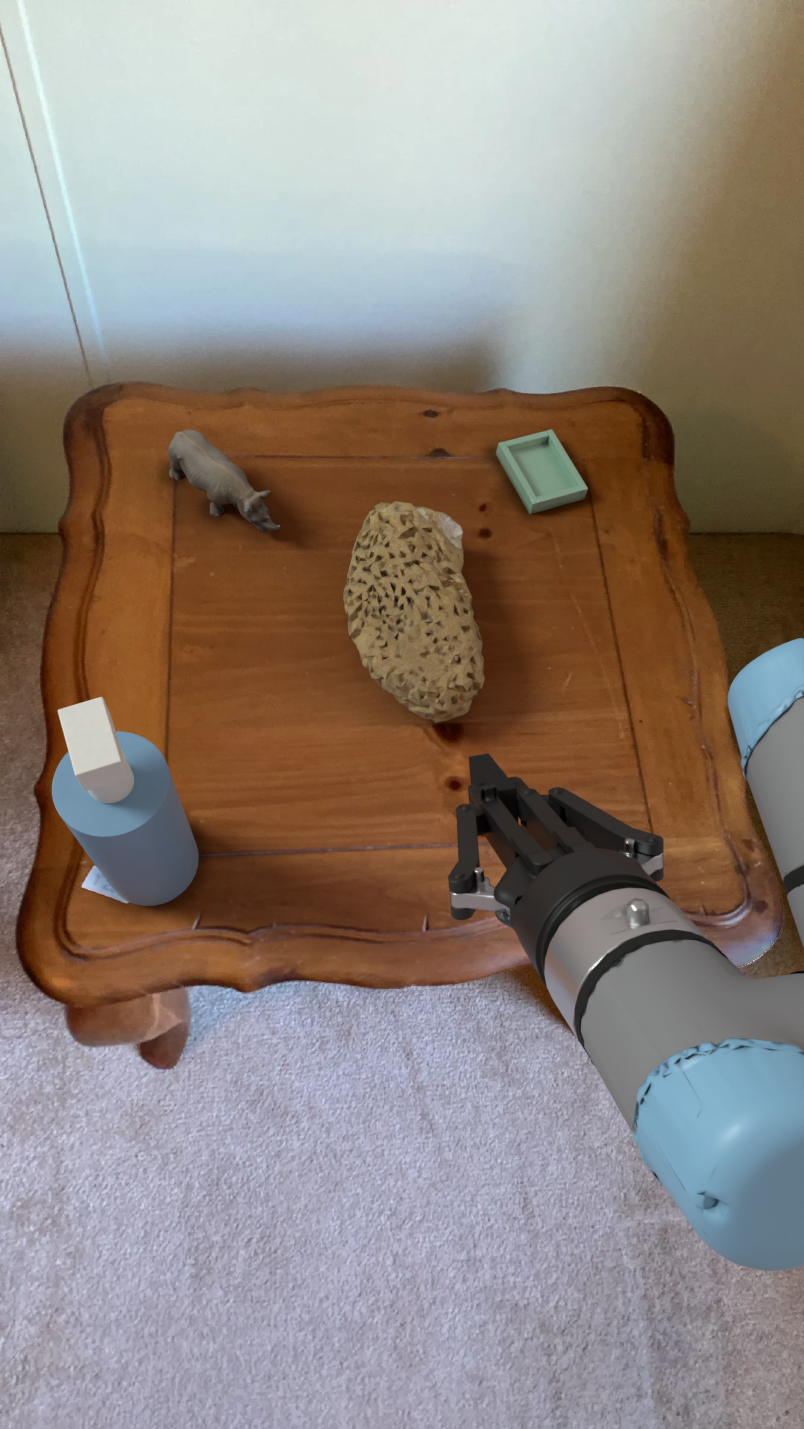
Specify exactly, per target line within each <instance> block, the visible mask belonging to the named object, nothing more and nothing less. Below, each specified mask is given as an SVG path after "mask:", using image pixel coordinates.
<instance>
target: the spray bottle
mask: <svg viewBox="0 0 804 1429" xmlns="http://www.w3.org/2000/svg"><path fill="white" fill-rule="evenodd" d="M57 715H58V718H59V721H60V725H61V729H62V733H63V737H64V740H65V743H66V747H67V752H66V754H64V756H63V757H62V758H61V760H60V762H59V764H58V765H57V766H56V769H55V772H54V774H53V778H52V783H51V797H52V801H53V804H54V807H55V809H56V811H57V813H58V815H59V817H60V818H61V819H62V820H63V822H64V823H65V825H66V826H67V828H68V829H69V831H70V832H71V833H72V835H73V836H74V837H75V839H76V840H77V841H78V843H79V844H80V846H81V848H82V849H83V850H84V851H85V853H86V854H87V856H88V857H89V858H90V860H91V861H92V862H93V864H94V865H95V867H96V868H97V870H98V871H99V872H100V874H101V875H102V877H103V878H104V880H105V881H106V882H107V884H108V885H109V887H110V888H111V889H112V890H113V892H114V893H115V894H116V895H117V896H118V897H120V898H121V899H122V900H124V901H125V902H128V903H129V904H132V905H137V906H141V907H153V906H159V905H163V904H166V903H168V902H171V901H173V900H174V899H175V898H177V897H179V896H181V895H182V894H183V893H184V892H185V891H186V890H187V889H188V888H189V886H190V885H191V883H192V882H193V880H194V878H195V876H196V875H197V874H196V873H197V871H198V867H199V860H200V859H199V858H200V856H199V849H198V845H197V842H196V840H195V836H194V834H193V830H192V828H191V826H190V823H189V820H188V817H187V815H186V812H185V809H184V807H183V804H182V801H181V798H180V796H179V793H178V790H177V787H176V784H175V781H174V779H173V776H172V774H171V771H170V768H169V765H168V763H167V761H166V757H164V755H163V753H162V751H161V750H160V749H159V748H158V747H157V746H156V745H155V744H154V743H153V742H151V741H150V740H149V739H148V738H146V737H143V736H142V735H139V734H136V733H133V732H128V731H120V730H117V731H116V728H115V724H114V721H113V717H112V714H111V712H110V710H109V708H108V705H107V703H106V701H105V699H104V697H103V696H99V697H95V698H93V699H89V700H86V701H83V702H79V703H76V704H73V705H69V706H66V707H61V708H59V709H57Z"/></svg>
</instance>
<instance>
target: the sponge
mask: <svg viewBox="0 0 804 1429" xmlns="http://www.w3.org/2000/svg"><path fill="white" fill-rule="evenodd" d="M374 508H375V509H372V510H370V511H368V514H367V515H366V517H365V519H364V520H363V523H362V526H361V529H360V530H359V532H358V534H357V537H356V539H355V542H354V545H353V548H352V551H351V559H350V564H349V568H348V571H347V575H346V578H345V579H346V584H345V585H344V588H343V596H342V597H343V603H344V606H343V607H344V610H345V615H346V616H347V618H348V620H347V631H348V632H347V633H348V637H350V638H351V640H352V643H353V644H354V646H355V647H356V649H357V650H358V652H359V657H360V660H361V665H362V666H363V667H364V668H365V669H366V670H367V671H368V672H369V674H370V677H371V680H373V681H374V682H375V683H377V685H379V687H381V688H382V690H383V691H384V692H386V693H388V694H390V695H391V696H393V698H395V699H396V701H397V702H398V703H399V704H400V705H403V706H404V707H406V708H407V710H408V711H410V712H411V713H413V714H415V715H416V716H417V717H419V718H421V719H424V720H426V721H427V720H428V721H432V722H433V723H435V724H437V723H441V722H442V723H443V722H446V721H447V722H448V721H450V720H452V719H455V718H458V717H461V716H465V715H466V714H467V713H468V712H469V711H470V710H471V705H472V701H473V698H474V697H475V696H478V692H479V690H482V689H483V686H484V684H485V678H486V677H485V658H484V656H483V655H484V647H483V640H482V636H481V633H480V627H479V625H478V623H477V622H476V621H475V619H474V615H475V612H474V610H473V607H472V602H473V596H472V594H471V591H470V589H469V587H468V584H467V581H466V579H465V578H464V576H463V573H462V571H463V567H464V554H465V550H464V548H463V543H462V539H463V535H464V530H463V528H462V526H461V524H459V523H457V522H456V521H455V520H454V519H453V518H451V516H449V515H448V514H446V513H445V512H443V511H437V510H433V509H431V508H428V507H424V506H415V505H413V504H412V503H410V502H403V501H397V500H395V501H393V502H392V503H388V502H384V501H381V502H379V503H378V504H376V505H374Z"/></svg>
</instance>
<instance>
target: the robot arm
mask: <svg viewBox="0 0 804 1429" xmlns="http://www.w3.org/2000/svg"><path fill="white" fill-rule="evenodd" d="M727 707H728V710H729V715H730V720H731V722H732V727H733V730H734V734H735V738H736V741H737V744H738V748H739V753H740V756H741V759H740V766H741V768H742V775H743V777H744V779H745V781H747V783H748V785H749V786H748V787H749V788H750V791H751V793H752V794H751V795H752V797H753V800H754V803H755V805H756V808H757V811H758V814H759V817H760V820H761V823H762V825H763V829H764V831H765V834H766V836H767V837H766V838H767V840H768V842H769V845H770V849H771V852H772V854H773V857H774V860H775V863H776V865H777V868H778V871H779V874H780V877H781V880H782V884H783V888H784V891H785V894H786V899H787V902H788V905H789V909H790V911H791V914H792V917H793V920H794V924H795V926H796V929H797V932H798V935H799V938H800V942H801V944H802V948H803V949H804V638H803V637H799V638H796V639H792V640H790V641H787V642H784V643H781V644H780V645H777V646H775V647H773V648H771V649H769V650H767V651H765V652H763V653H762V654H761V655H759V656H757V657H756V658H754V659H753V660H752V661H750V662H749V663H748V664H746V665H745V666H744V667H743V668H742V669H741V670H740V671H739V672H738V673H737V675H736V676H735V677H734V679H733V681H732V682H731V684H730V686H729V690H728V693H727ZM468 767H469V781H470V784H469V785H468V786H467V793H468V794H467V796H468V803H462V804H459V805H458V806H456V808H455V812H456V834H457V839H456V840H457V859H458V860H457V862H456V863H455V865H454V867H453V868H452V869H451V871H450V873H449V874H448V876H447V880H448V893H449V903H450V915H451V918H453V919H454V920H456V921H467V920H469V919H471V918H473V916H474V914H475V912H476V910H480V911H487V912H494V915H495V918H497V920H498V921H499V922H500V923H501V924H503V925H504V926H507V927H509V928H511V929H512V930H513V931H514V932H515V934H516V936H517V938H518V941H519V943H520V945H521V947H522V949H523V951H524V952H525V954H526V955H527V958H528V959H529V961H530V962H531V964H532V966H533V967H534V969H535V971H536V973H537V974H538V976H539V978H540V980H541V981H542V983H543V984H544V986H545V988H547V991H548V993H549V995H550V997H551V999H552V1001H553V1003H554V1004H555V1005H556V1007H557V1010H558V1011H559V1012H560V1014H561V1015H562V1017H563V1019H564V1020H565V1022H566V1023H567V1025H568V1027H569V1028H570V1030H571V1031H572V1033H573V1035H574V1036H575V1038H576V1039H577V1041H578V1042H579V1045H581V1047H582V1048H583V1051H584V1052H585V1053H586V1055H587V1056H588V1058H589V1060H590V1063H591V1064H592V1065H593V1067H595V1069H596V1071H597V1072H598V1074H599V1076H600V1078H601V1079H602V1082H603V1083H604V1085H605V1086H606V1087H605V1088H606V1089H607V1090H608V1092H609V1094H610V1096H611V1098H612V1100H613V1101H614V1103H615V1104H616V1106H617V1109H618V1110H619V1112H620V1114H621V1115H622V1117H623V1119H624V1120H625V1122H626V1125H627V1126H628V1128H629V1129H630V1131H631V1133H632V1139H633V1141H634V1142H635V1144H636V1145H637V1148H638V1149H639V1155H640V1158H641V1160H642V1161H643V1163H645V1165H646V1166H647V1168H648V1169H649V1170H650V1172H651V1173H652V1175H653V1177H655V1179H656V1180H657V1182H659V1183H660V1184H661V1185H662V1186H663V1187H664V1188H665V1189H666V1191H667V1193H668V1194H669V1195H670V1197H671V1198H672V1200H673V1201H674V1203H675V1204H676V1206H677V1207H678V1208H679V1210H680V1211H681V1213H682V1215H683V1216H684V1217H685V1219H686V1220H687V1223H688V1224H690V1226H691V1227H692V1229H693V1231H694V1232H695V1233H696V1235H697V1236H698V1237H699V1238H700V1239H701V1241H703V1242H704V1243H705V1244H706V1245H707V1246H708V1247H709V1248H710V1249H711V1250H712V1251H713V1252H715V1253H716V1254H718V1255H719V1256H720V1257H722V1258H724V1259H726V1261H729V1262H730V1263H733V1264H735V1265H738V1266H742V1267H745V1268H749V1269H754V1270H758V1271H764V1272H782V1271H789V1270H794V1269H798V1268H799V1269H800V1268H802V1267H804V969H802V970H797V971H793V972H790V973H787V974H784V975H783V974H782V975H776V976H769V977H761V978H759V977H758V978H755V977H749V976H747V975H746V974H744V972H742V971H741V970H740V969H739V968H738V966H736V965H735V964H734V963H733V961H731V960H730V959H729V957H728V956H727V955H726V954H725V953H723V951H722V950H721V949H720V948H719V947H718V946H717V945H716V944H715V943H714V942H712V940H711V939H709V937H707V935H706V934H704V932H703V931H702V930H701V929H700V928H699V927H698V926H697V925H696V924H695V923H694V922H693V921H692V920H691V919H690V918H689V916H688V915H687V914H686V913H685V912H684V911H683V910H682V909H681V908H680V907H679V906H678V905H677V904H676V903H675V902H673V901H672V899H671V898H670V896H669V895H668V894H667V892H666V891H665V890H664V889H663V888H662V887H661V886H660V885H659V884H658V882H661V881H662V880H663V879H665V878H664V875H665V872H664V871H665V869H664V866H665V864H664V862H665V861H664V858H665V857H664V855H665V854H664V852H665V851H664V849H665V847H664V837H663V836H661V835H659V834H655V833H652V832H648V831H645V830H642V829H638V828H635V827H632V826H631V825H629V824H627V823H625V822H624V821H622V820H620V819H619V818H616V817H615V816H613V815H611V814H610V813H608V812H606V811H605V810H602V808H599V807H597V806H595V805H594V804H593V803H590V802H589V801H587V800H586V799H583V798H582V797H580V796H578V795H577V794H575V793H573V792H572V791H570V790H568V789H566V788H565V787H561V786H555V787H551V788H549V790H548V792H547V793H548V794H540V792H538V790H537V789H535V788H531V787H529V786H528V784H526V782H524V779H522V778H521V777H519V776H510V777H508V775H507V773H505V772H504V771H503V769H502V768H501V767H500V765H499V764H498V763H497V762H496V761H495V759H494V758H493V757H492V756H491V754H490V753H482V754H475V755H470V756H468ZM519 819H520V823H519ZM482 835H483V836H484V837H485V839H486V841H487V842H488V844H489V845H490V847H491V848H492V850H493V851H494V853H495V854H496V856H497V857H498V859H499V860H500V862H501V863H502V865H503V867H504V868H505V872H504V873H503V874H502V876H501V877H500V879H499V881H498V882H497V883H496V886H493V885H492V884H491V880H490V877H488V876H486V875H485V869H484V868H483V867H482V866H481V863H480V862H481V861H480V849H479V837H480V836H482Z"/></svg>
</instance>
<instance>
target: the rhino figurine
mask: <svg viewBox="0 0 804 1429" xmlns="http://www.w3.org/2000/svg"><path fill="white" fill-rule="evenodd" d="M167 457H168V459H169V467H170V469H169V472H168V475H169V476H168V477H169V478H170V479H173V480H176V481H180V480H182V478H183V477H184V476H185V477H186V479H187V481H188V483H189V484H190V485H191V486H192V487H193V488H194V489H197V490H199V491H203V492H205V493H206V497H207V499H208V500H209V501H210V504H209V515H211V516H215V517H217V518H219V517H222V515H223V513H224V512H225V509H224V507H223V506H224V505H229V504H231V505H232V507H234V508H236V509H238V512H239V514H240V515H241V516H242V517H243V518H244V519H245V521H247V522H248V523H250V524H252V525H253V526H254V527H255V528H256V529H257V530H258V531H259V532H260V533H263V534H266V533H269V532H270V531H271V532H272V531H274V532H276V531H279V530H280V529H281V525H280V524H275V522H273V520H272V519H271V517H270V513H269V508H268V507H267V506H266V504H264V501H263V499H266V498H267V497H268V496H269V494H270V493H271V490H270V489H265V490H262V491H256V490H255V489H254V488H253V486H251V484H250V483H249V481H248V477H247V474H246V473H245V472H244V470H243V469H241V468H240V467H239V466H238V465H237V464H236V463H235V462H234V463H233V462H232V461H231V459H230V458H229V457H228V456H227V454H226V453H225V452H223V450H221V449H219V448H218V447H217V446H215V445H214V444H212V443H211V442H210V441H209V440H208V439H207V437H206V436H205V435H204V434H203V433H202V432H200V431H198V430H194V429H185V430H181V431H176V432H175V434H174V436H173V438H172V439H171V441H170V443H169V445H168V449H167Z"/></svg>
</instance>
